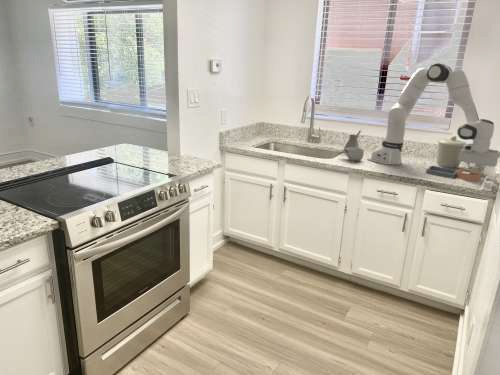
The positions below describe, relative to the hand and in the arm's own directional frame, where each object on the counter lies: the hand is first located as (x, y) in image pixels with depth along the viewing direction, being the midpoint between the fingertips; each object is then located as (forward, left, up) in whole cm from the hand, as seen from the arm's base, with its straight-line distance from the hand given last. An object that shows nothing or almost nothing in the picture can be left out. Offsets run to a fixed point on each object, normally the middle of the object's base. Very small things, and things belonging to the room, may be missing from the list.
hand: (474, 170), depth 225 cm
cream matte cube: (0, 0, -1) cm, 1 cm away
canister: (-18, +25, -6) cm, 31 cm away
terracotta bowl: (-2, 0, -6) cm, 6 cm away
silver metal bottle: (+1, +13, -6) cm, 15 cm away
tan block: (-4, 0, -5) cm, 7 cm away
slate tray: (-17, 0, -6) cm, 18 cm away
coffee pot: (-82, +20, -6) cm, 84 cm away
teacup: (-73, -6, -6) cm, 73 cm away
